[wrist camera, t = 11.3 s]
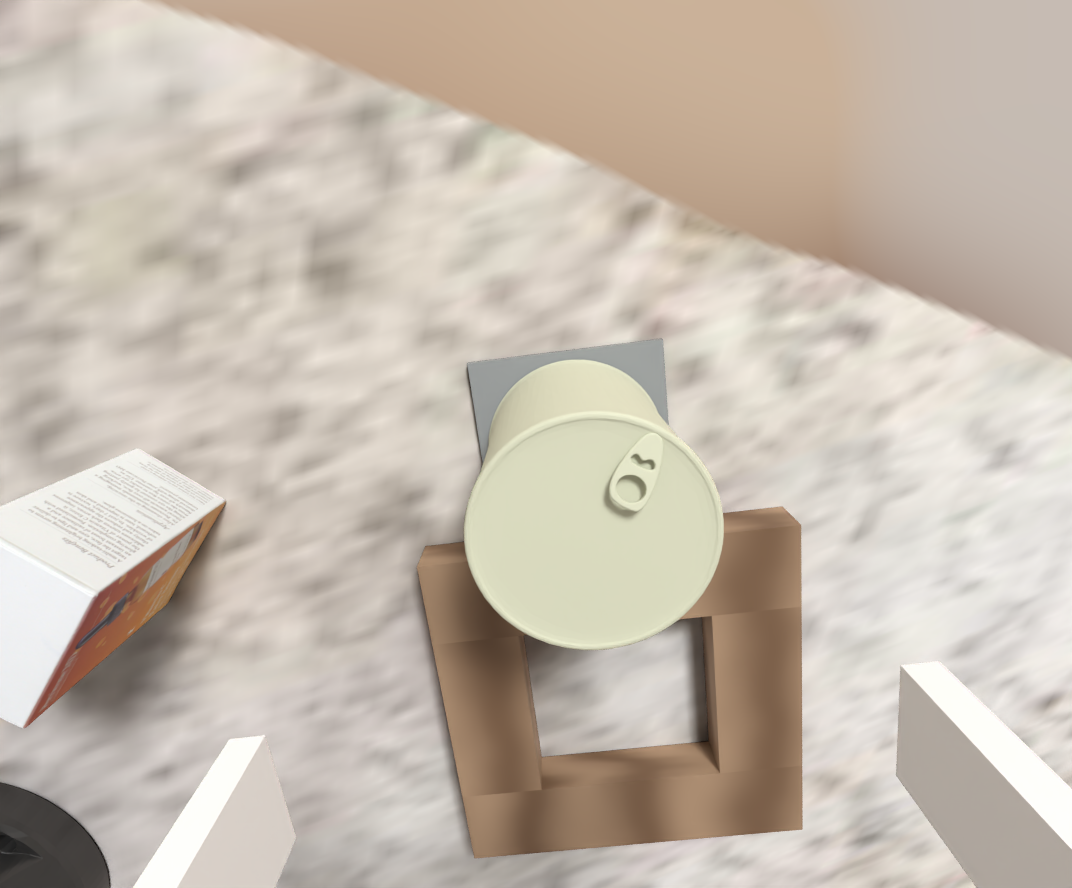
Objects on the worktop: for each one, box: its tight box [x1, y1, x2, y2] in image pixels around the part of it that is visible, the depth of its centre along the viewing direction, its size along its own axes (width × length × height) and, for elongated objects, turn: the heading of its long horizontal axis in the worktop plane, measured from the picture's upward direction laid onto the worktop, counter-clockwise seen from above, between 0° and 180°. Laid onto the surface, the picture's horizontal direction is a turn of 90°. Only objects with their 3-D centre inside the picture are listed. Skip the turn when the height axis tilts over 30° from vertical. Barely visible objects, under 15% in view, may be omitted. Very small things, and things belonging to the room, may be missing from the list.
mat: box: [467, 339, 669, 463], centre depth 32 cm, size 10×10×1 cm
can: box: [464, 360, 724, 650], centre depth 27 cm, size 9×9×12 cm
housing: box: [417, 507, 802, 858], centre depth 36 cm, size 20×20×2 cm
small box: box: [0, 448, 226, 728], centre depth 29 cm, size 8×6×10 cm
